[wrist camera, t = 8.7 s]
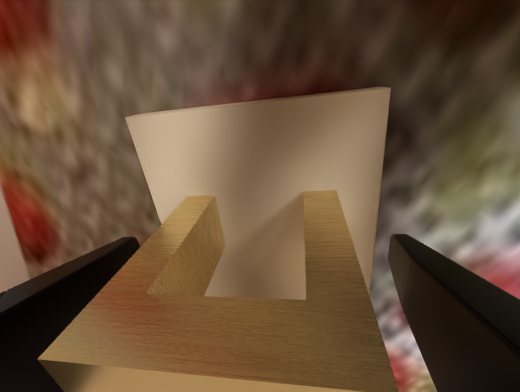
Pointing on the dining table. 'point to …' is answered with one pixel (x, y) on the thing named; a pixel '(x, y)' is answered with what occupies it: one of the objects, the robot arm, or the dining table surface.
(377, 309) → the dining table surface
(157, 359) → the tan u-shaped bracket
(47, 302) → the robot arm
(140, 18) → the dining table surface
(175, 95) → the dining table surface
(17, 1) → the dining table surface
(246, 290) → the birch pad
